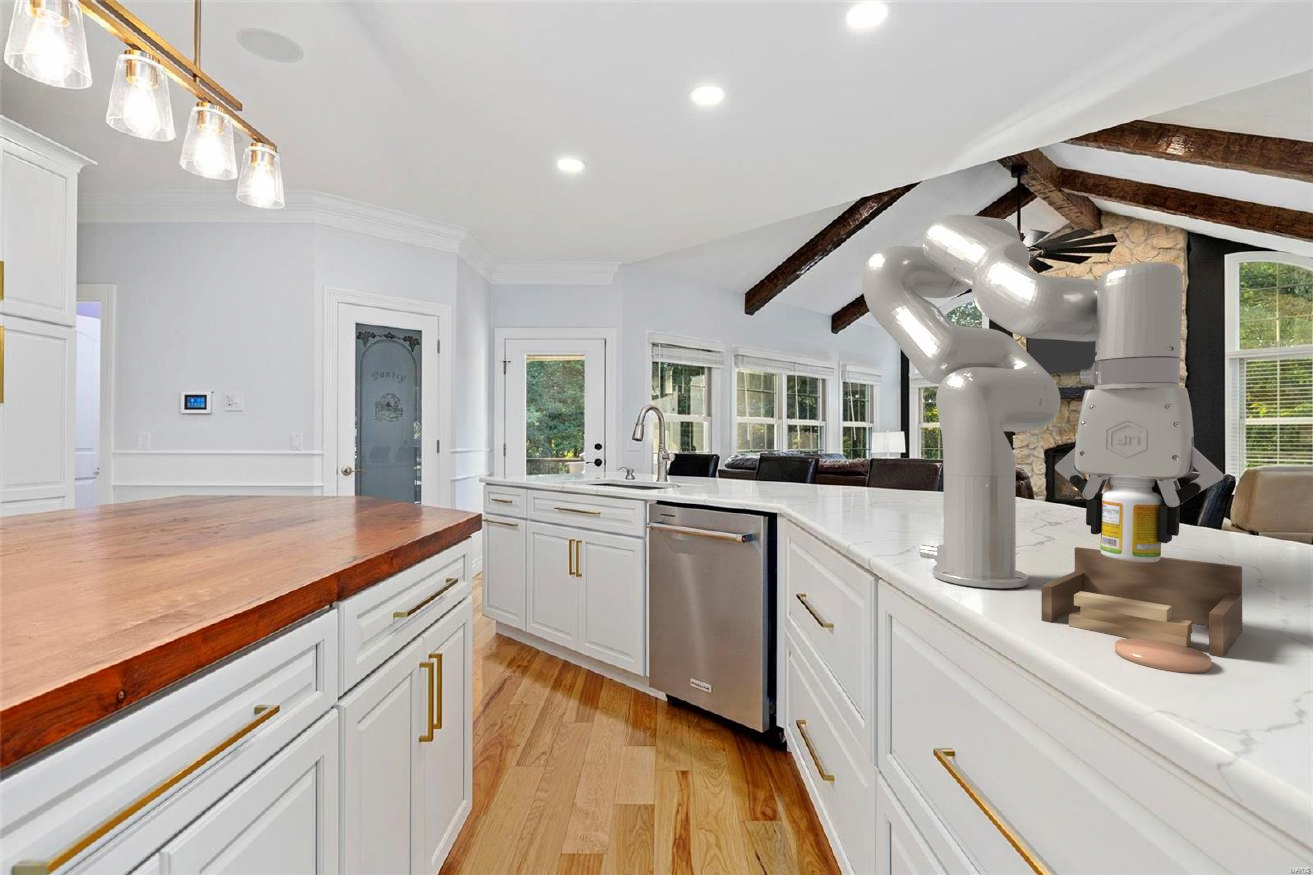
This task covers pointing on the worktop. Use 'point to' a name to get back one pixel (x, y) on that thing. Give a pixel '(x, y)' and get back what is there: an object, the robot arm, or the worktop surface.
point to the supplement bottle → (1130, 520)
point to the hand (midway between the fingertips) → (1130, 535)
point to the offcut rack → (1149, 599)
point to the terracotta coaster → (1163, 655)
